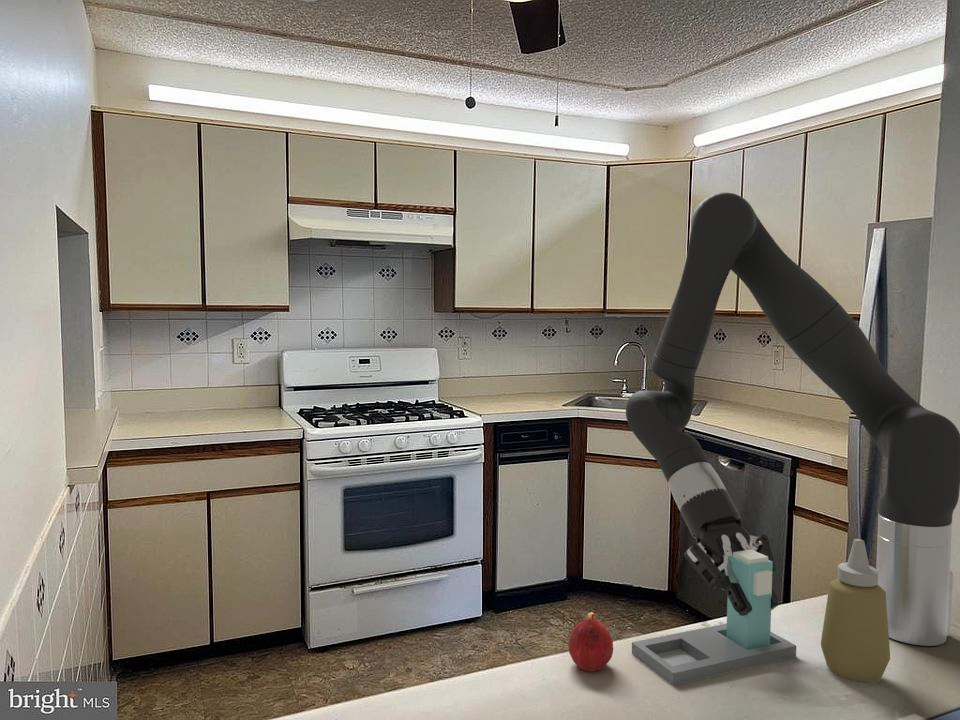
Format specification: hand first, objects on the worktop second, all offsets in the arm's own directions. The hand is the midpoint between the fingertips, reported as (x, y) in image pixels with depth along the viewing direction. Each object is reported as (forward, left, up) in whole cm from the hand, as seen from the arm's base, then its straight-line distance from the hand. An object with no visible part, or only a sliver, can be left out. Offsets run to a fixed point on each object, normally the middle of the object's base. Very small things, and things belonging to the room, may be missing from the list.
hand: (759, 610), depth 97 cm
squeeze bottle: (-8, +8, -7) cm, 14 cm away
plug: (0, -2, -6) cm, 6 cm away
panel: (+6, -2, -7) cm, 9 cm away
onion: (+23, -5, -7) cm, 25 cm away
